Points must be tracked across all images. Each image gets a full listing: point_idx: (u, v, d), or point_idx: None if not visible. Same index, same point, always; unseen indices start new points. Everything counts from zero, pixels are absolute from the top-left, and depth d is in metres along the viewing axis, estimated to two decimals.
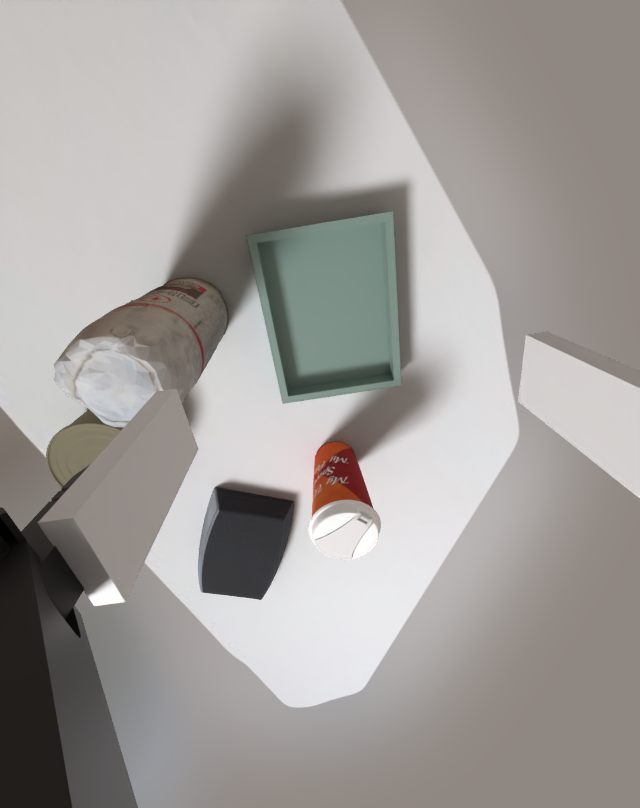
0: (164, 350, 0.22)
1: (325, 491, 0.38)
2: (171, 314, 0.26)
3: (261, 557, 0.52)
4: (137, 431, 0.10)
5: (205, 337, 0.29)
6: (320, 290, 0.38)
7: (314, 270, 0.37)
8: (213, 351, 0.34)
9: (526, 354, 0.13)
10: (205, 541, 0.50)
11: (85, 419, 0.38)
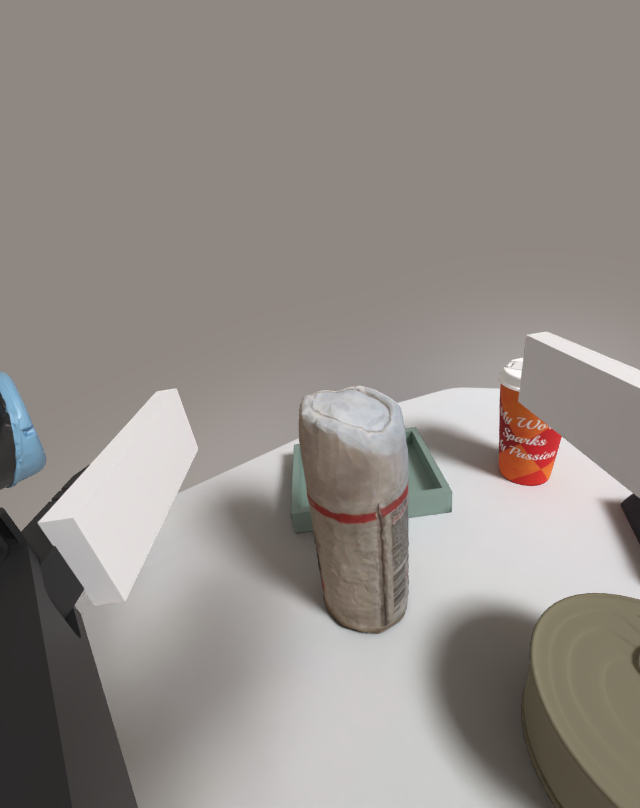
0: None
1: (513, 409, 0.38)
2: None
3: None
4: (137, 431, 0.10)
5: None
6: None
7: None
8: None
9: (526, 354, 0.13)
10: None
11: (549, 730, 0.19)
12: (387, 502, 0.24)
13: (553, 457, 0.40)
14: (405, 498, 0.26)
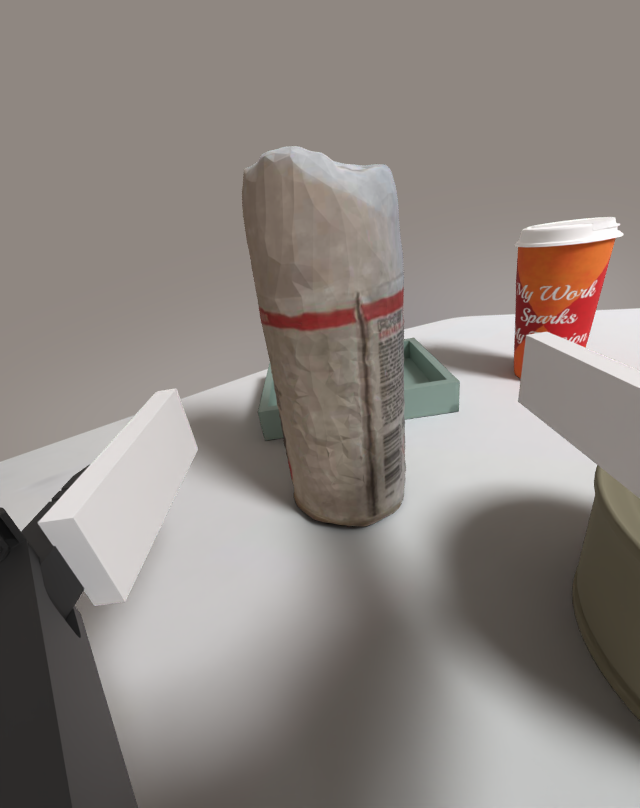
0: None
1: (535, 277, 0.31)
2: None
3: None
4: (137, 431, 0.10)
5: None
6: None
7: None
8: None
9: (526, 354, 0.13)
10: None
11: None
12: (371, 296, 0.16)
13: (584, 343, 0.32)
14: (399, 310, 0.18)
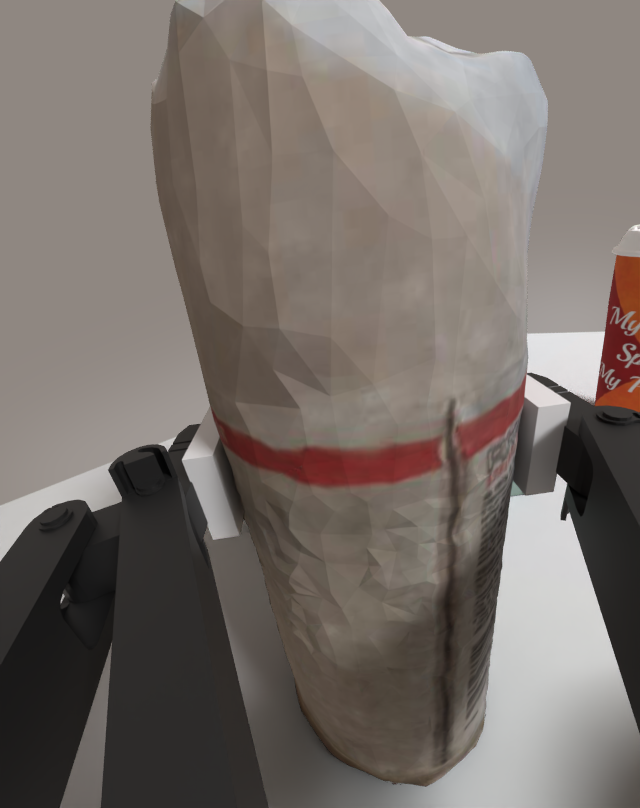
0: None
1: None
2: None
3: None
4: None
5: None
6: None
7: None
8: None
9: None
10: None
11: None
12: (482, 402, 0.06)
13: None
14: (521, 409, 0.08)
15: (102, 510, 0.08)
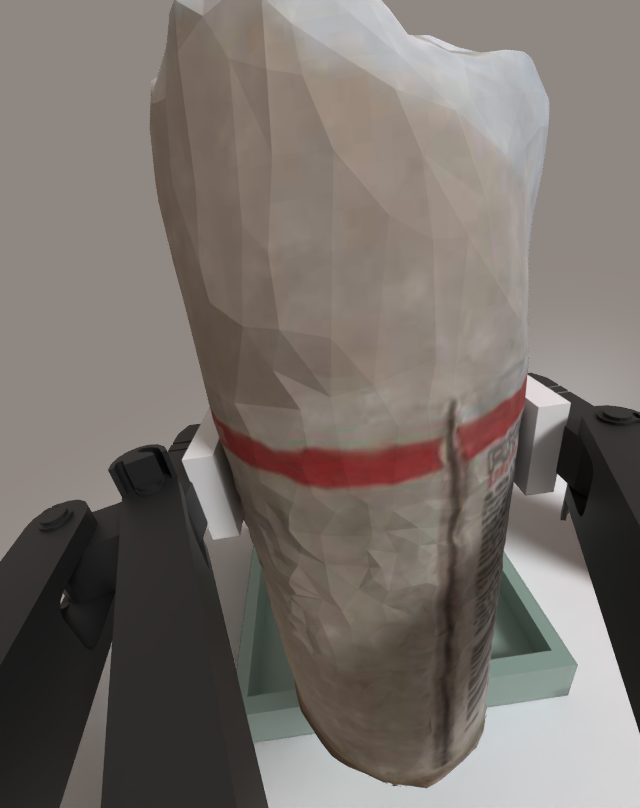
0: None
1: None
2: None
3: None
4: None
5: None
6: None
7: None
8: None
9: None
10: None
11: None
12: (482, 403, 0.06)
13: None
14: (522, 410, 0.08)
15: (102, 510, 0.08)
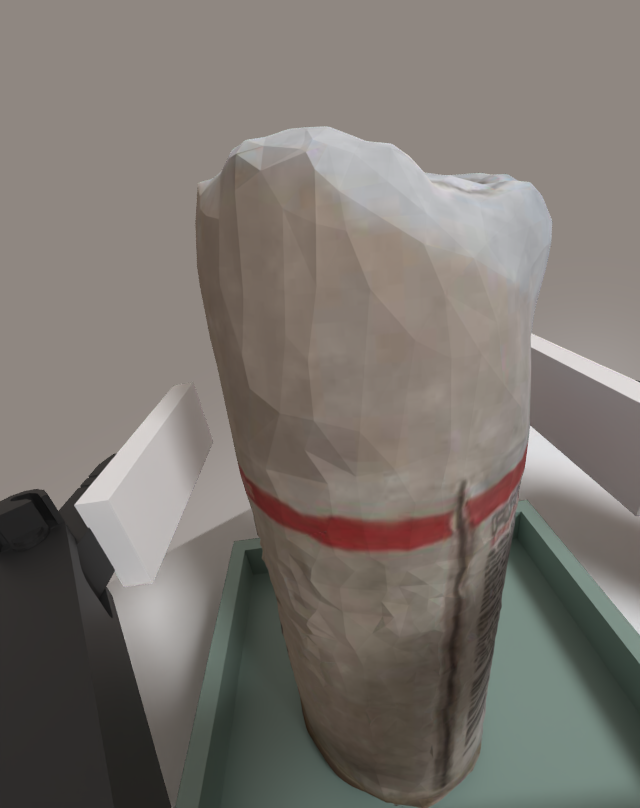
0: None
1: None
2: None
3: None
4: (160, 421, 0.11)
5: None
6: None
7: None
8: None
9: None
10: None
11: None
12: (489, 479, 0.07)
13: None
14: (522, 472, 0.09)
15: None
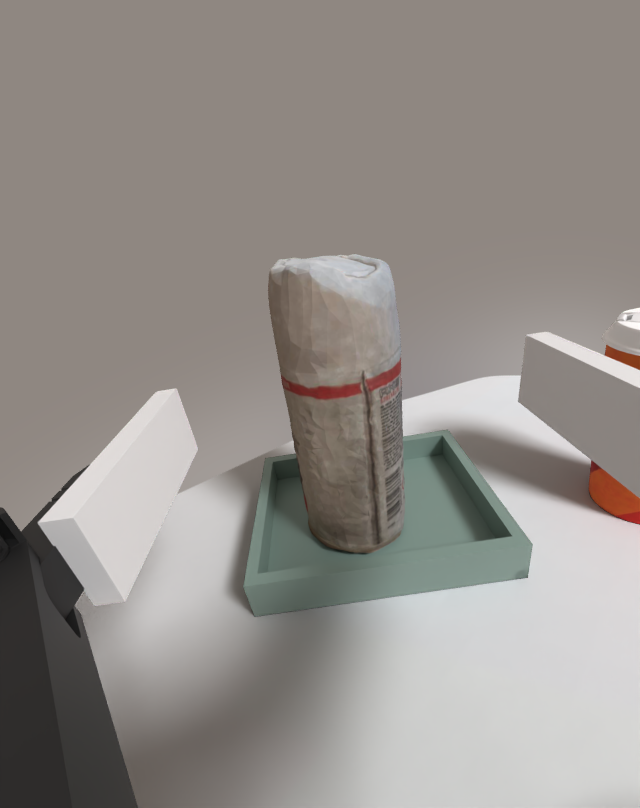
0: None
1: None
2: None
3: None
4: (137, 431, 0.10)
5: None
6: None
7: None
8: None
9: (526, 354, 0.13)
10: None
11: None
12: (374, 372, 0.20)
13: None
14: (397, 377, 0.22)
15: None
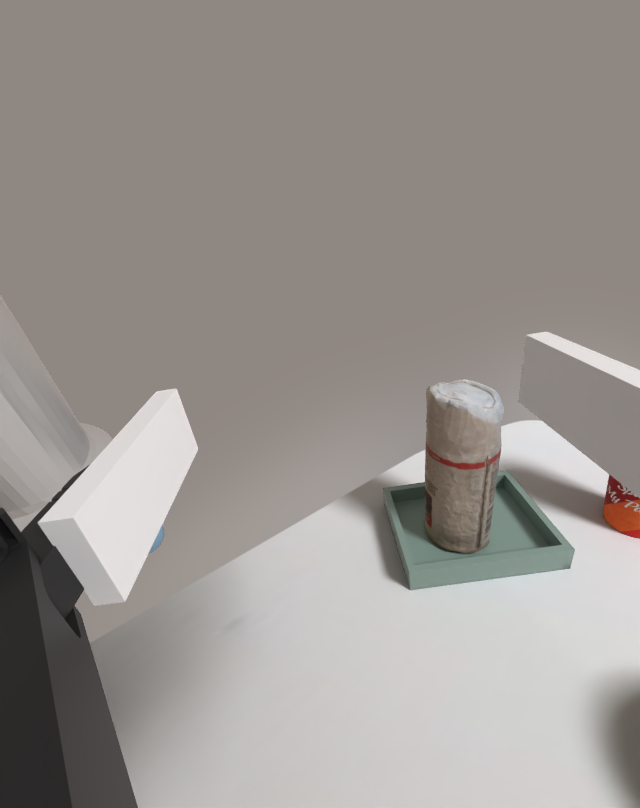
0: None
1: None
2: None
3: None
4: (137, 431, 0.10)
5: None
6: None
7: None
8: None
9: (526, 354, 0.13)
10: None
11: None
12: (492, 455, 0.36)
13: None
14: (499, 454, 0.38)
15: None
